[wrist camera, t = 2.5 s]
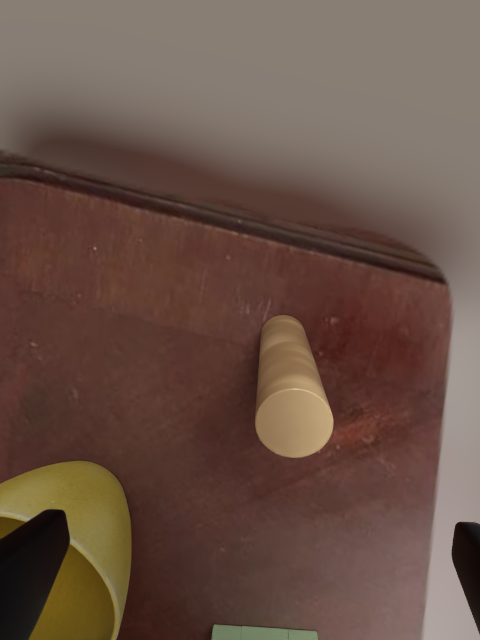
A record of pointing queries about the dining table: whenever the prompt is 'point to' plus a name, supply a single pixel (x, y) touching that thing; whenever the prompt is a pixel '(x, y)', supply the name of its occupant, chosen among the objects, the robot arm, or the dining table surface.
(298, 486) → the dining table surface
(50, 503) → the flower pot
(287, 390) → the peg
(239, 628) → the peg board
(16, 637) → the robot arm
